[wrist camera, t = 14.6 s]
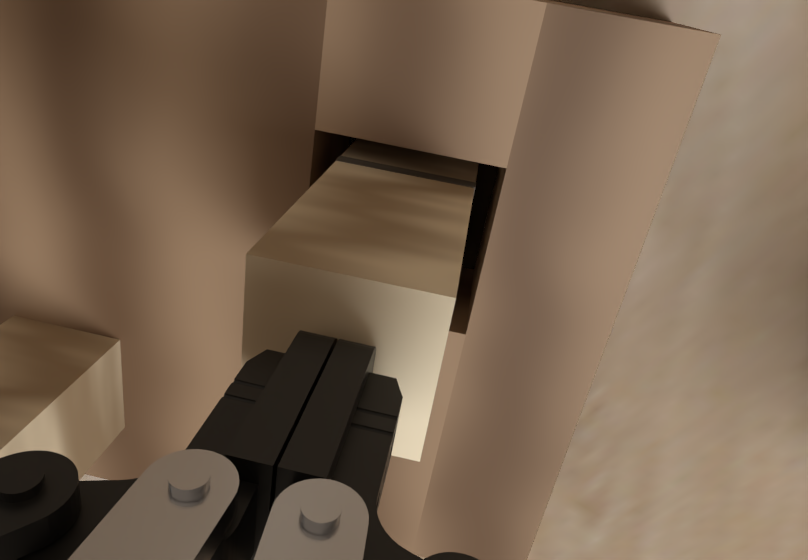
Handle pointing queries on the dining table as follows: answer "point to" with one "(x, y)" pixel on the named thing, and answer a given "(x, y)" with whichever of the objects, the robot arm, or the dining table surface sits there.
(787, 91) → the dining table surface
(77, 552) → the robot arm
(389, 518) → the seat board
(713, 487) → the dining table surface
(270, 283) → the peg
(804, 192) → the dining table surface
